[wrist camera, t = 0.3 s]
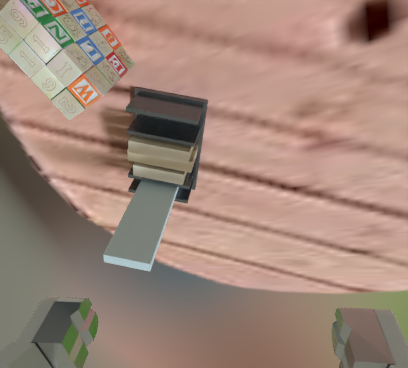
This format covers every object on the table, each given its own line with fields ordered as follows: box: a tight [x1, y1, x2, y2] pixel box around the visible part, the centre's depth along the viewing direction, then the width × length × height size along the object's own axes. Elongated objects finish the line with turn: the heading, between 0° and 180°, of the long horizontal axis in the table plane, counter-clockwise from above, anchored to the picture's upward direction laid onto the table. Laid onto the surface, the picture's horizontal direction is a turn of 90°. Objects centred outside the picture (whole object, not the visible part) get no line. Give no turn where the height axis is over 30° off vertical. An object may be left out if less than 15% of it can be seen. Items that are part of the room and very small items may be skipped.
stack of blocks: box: [0, 0, 135, 120], centre depth 38 cm, size 21×6×12 cm, turn 35°
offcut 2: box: [127, 145, 198, 173], centre depth 50 cm, size 2×10×5 cm, turn 83°
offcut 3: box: [133, 162, 187, 185], centre depth 51 cm, size 2×8×6 cm, turn 83°
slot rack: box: [126, 87, 208, 203], centre depth 51 cm, size 17×11×6 cm, turn 173°
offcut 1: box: [128, 135, 194, 164], centre depth 48 cm, size 2×9×6 cm, turn 83°
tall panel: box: [103, 180, 179, 271], centre depth 48 cm, size 2×6×20 cm, turn 84°
